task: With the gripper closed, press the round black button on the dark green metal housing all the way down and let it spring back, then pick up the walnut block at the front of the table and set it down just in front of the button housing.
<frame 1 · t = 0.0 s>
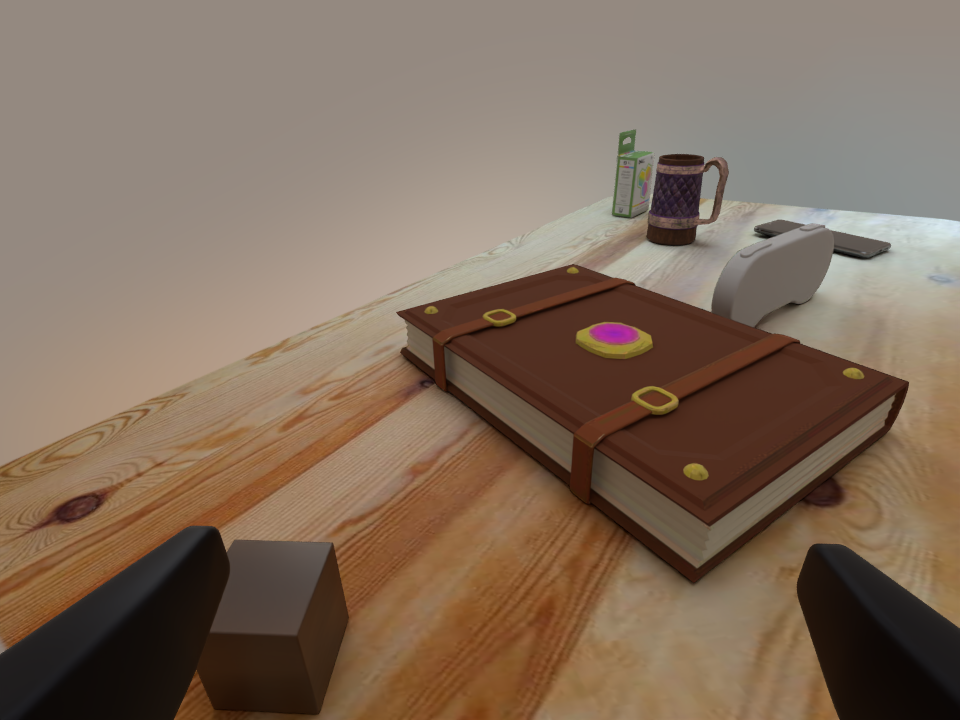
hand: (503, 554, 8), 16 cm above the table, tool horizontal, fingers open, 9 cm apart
smartphone: (817, 242, 78), on the table
ink box: (630, 214, 96), on the table
block: (286, 660, 24), on the table
mug: (679, 242, 80), on the table
game controller: (767, 316, 56), on the table
book: (612, 389, 44), on the table
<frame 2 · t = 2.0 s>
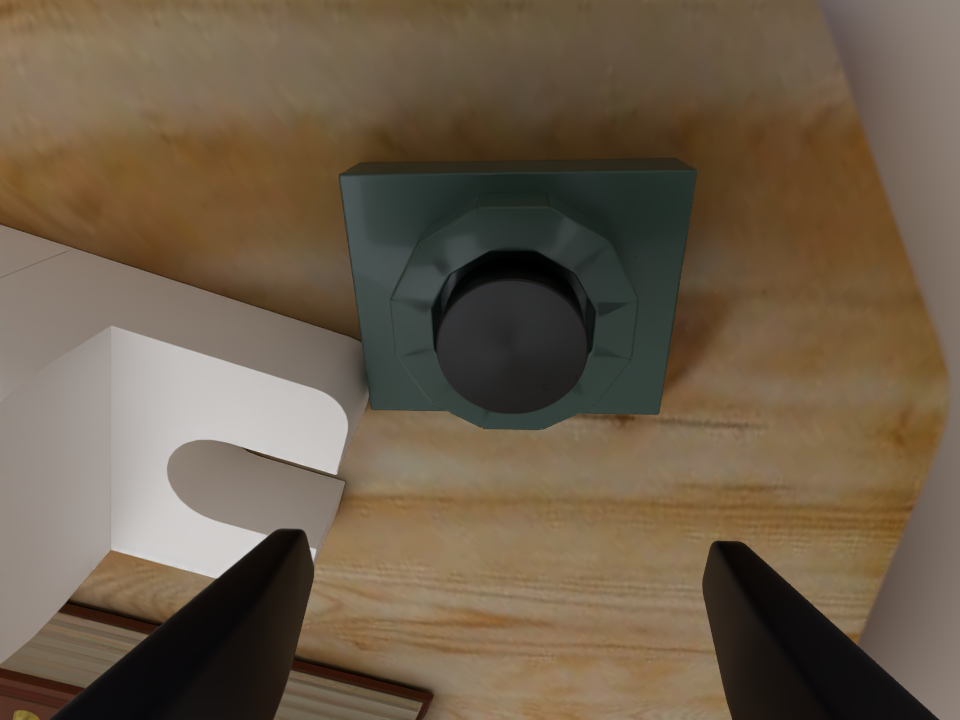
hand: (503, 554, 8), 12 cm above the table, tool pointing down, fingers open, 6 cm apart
button box: (513, 281, 19), on the table
button: (512, 336, 15), point 4 cm above the table, slide at 0.1 cm
bracket: (129, 377, 22), on the table
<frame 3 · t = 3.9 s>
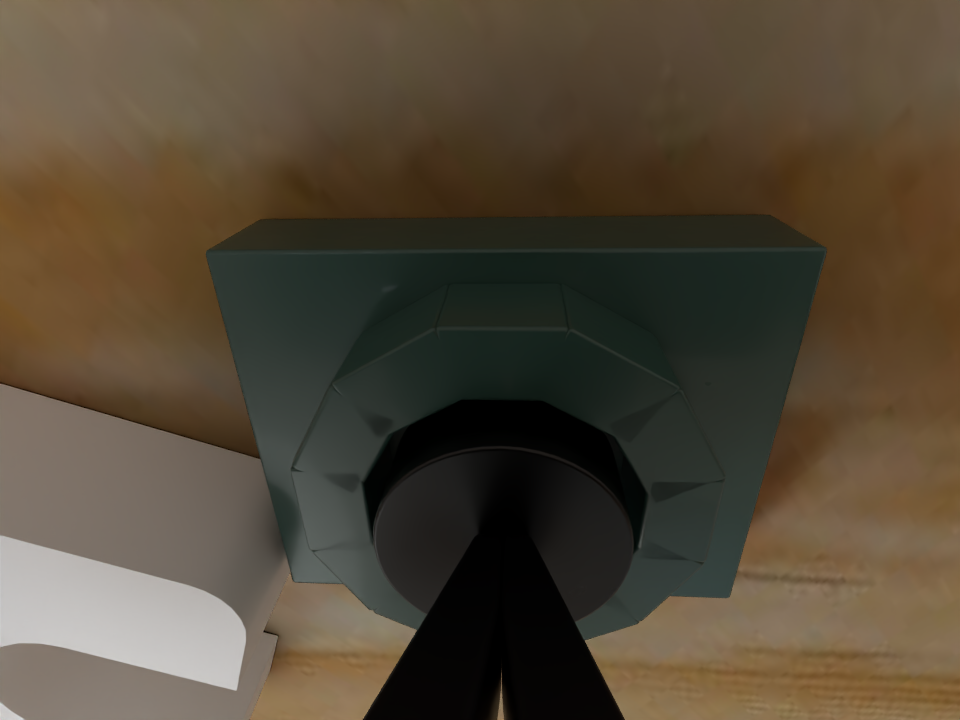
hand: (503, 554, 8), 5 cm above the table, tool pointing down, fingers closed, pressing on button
button box: (507, 391, 13), on the table
button: (502, 512, 9), point 4 cm above the table, slide at -0.5 cm, touching gripper
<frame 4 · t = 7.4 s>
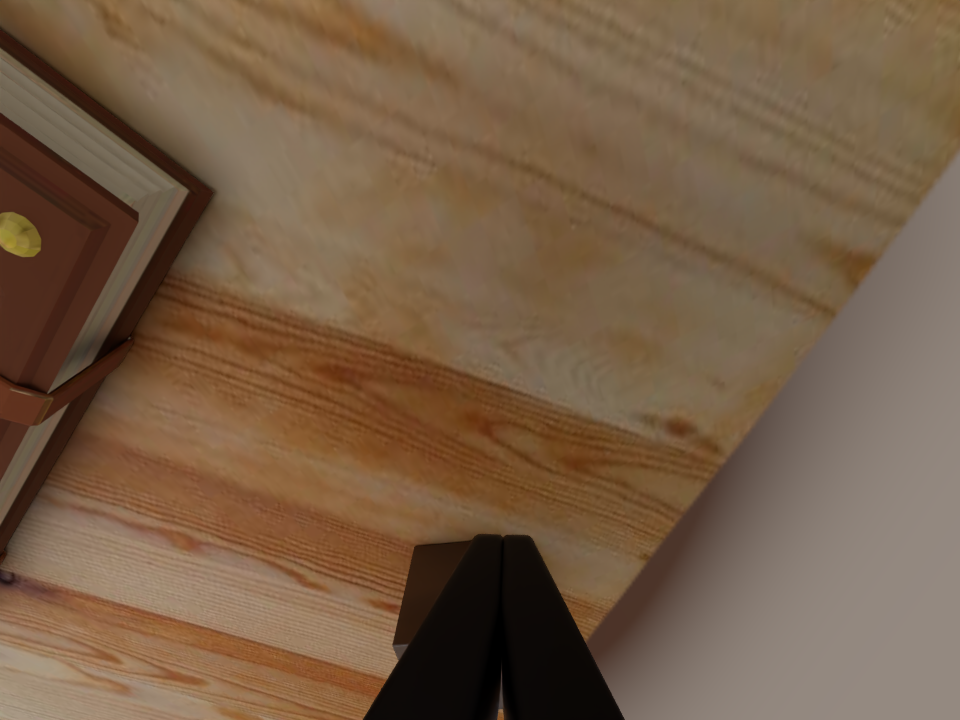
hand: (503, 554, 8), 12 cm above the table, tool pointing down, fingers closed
block: (470, 575, 26), on the table
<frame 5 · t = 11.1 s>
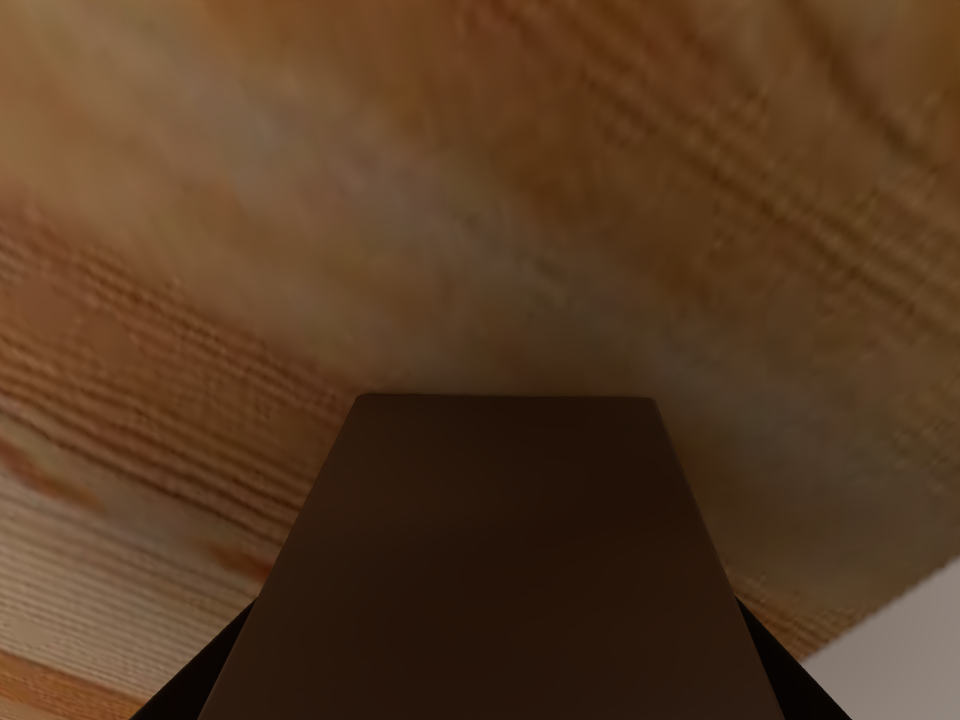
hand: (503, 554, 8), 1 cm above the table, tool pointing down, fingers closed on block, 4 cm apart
block: (503, 507, 9), on the table, touching gripper
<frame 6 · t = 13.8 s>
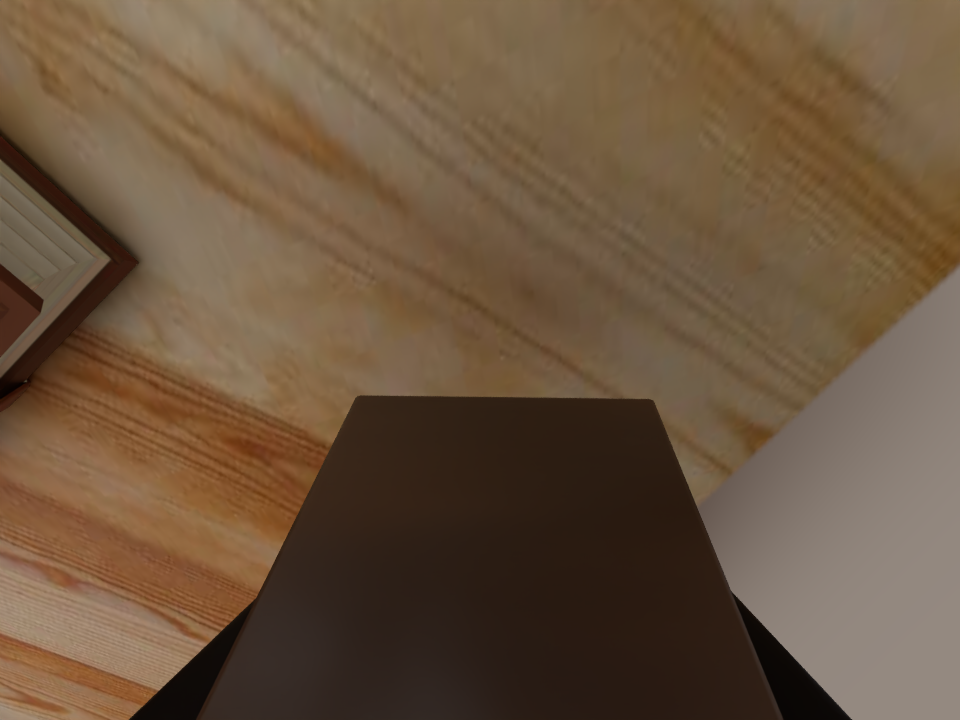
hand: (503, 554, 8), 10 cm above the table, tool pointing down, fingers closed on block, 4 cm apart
block: (502, 507, 9), point 9 cm above the table, touching gripper
when the fingers open (1 cm above the table, at t = 16.9 s): block stays where it is, on the table.
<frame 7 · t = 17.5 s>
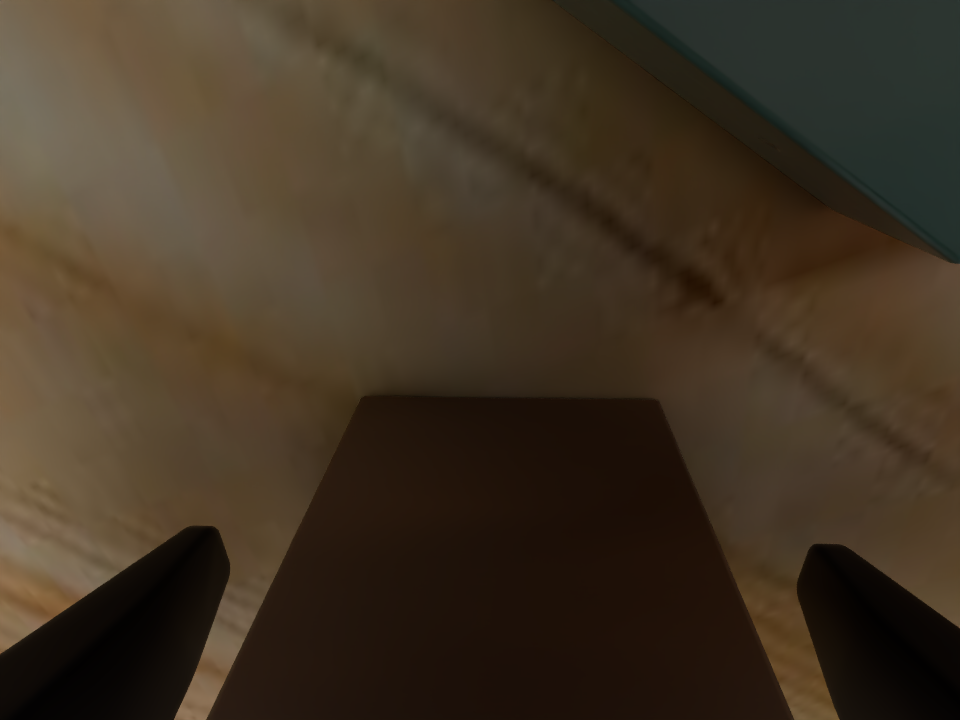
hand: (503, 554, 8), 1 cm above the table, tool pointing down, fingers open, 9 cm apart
block: (507, 508, 9), on the table
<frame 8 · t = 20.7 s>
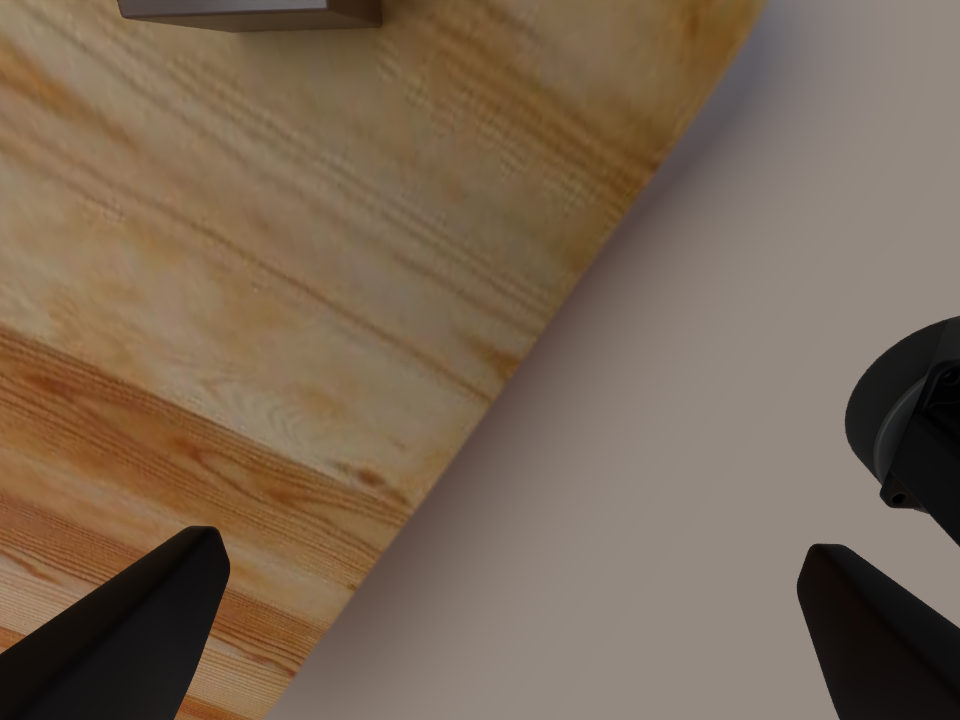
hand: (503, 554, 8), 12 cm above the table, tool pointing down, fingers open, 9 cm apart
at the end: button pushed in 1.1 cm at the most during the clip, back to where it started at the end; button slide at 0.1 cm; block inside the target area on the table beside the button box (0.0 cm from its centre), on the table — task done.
